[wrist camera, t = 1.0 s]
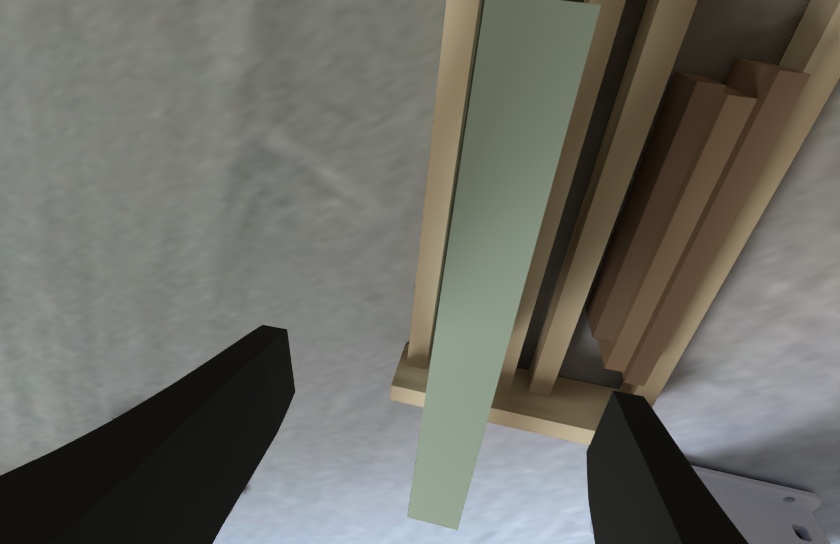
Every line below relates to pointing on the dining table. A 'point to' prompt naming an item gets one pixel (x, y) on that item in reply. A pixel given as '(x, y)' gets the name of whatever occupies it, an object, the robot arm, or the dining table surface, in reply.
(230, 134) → the dining table surface
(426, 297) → the offcut rack
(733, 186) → the offcut stack
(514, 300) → the large sage green box
